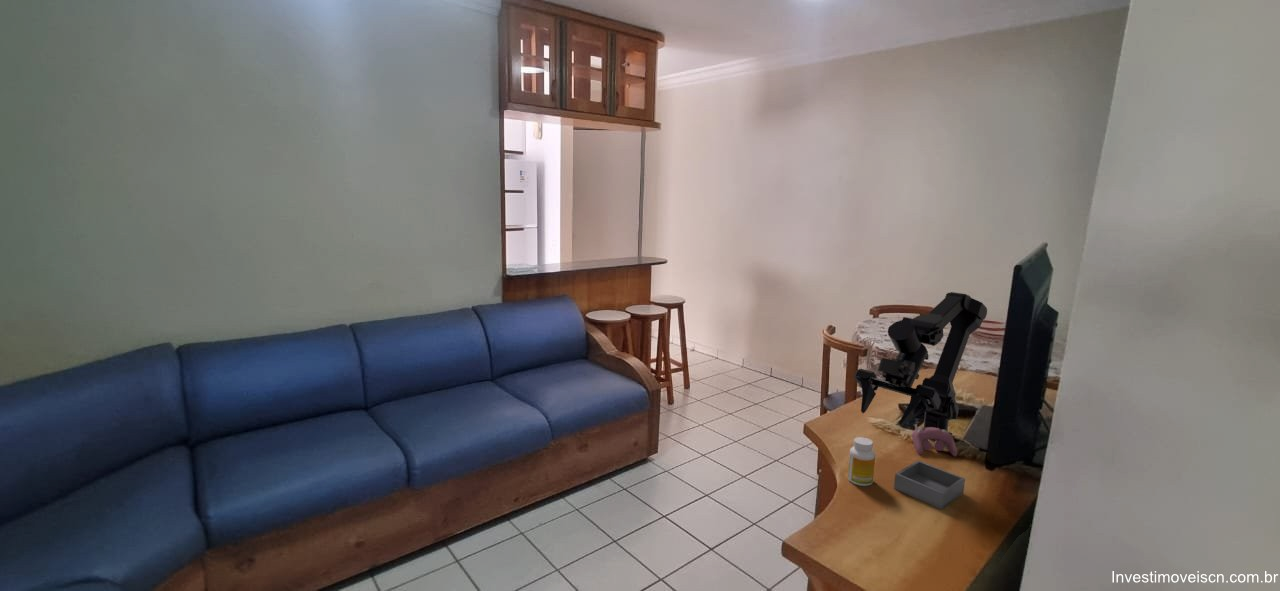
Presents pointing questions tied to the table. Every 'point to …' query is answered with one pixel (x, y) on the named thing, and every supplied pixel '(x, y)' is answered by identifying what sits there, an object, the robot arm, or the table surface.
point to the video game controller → (939, 435)
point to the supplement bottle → (861, 462)
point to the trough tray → (929, 484)
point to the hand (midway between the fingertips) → (880, 418)
